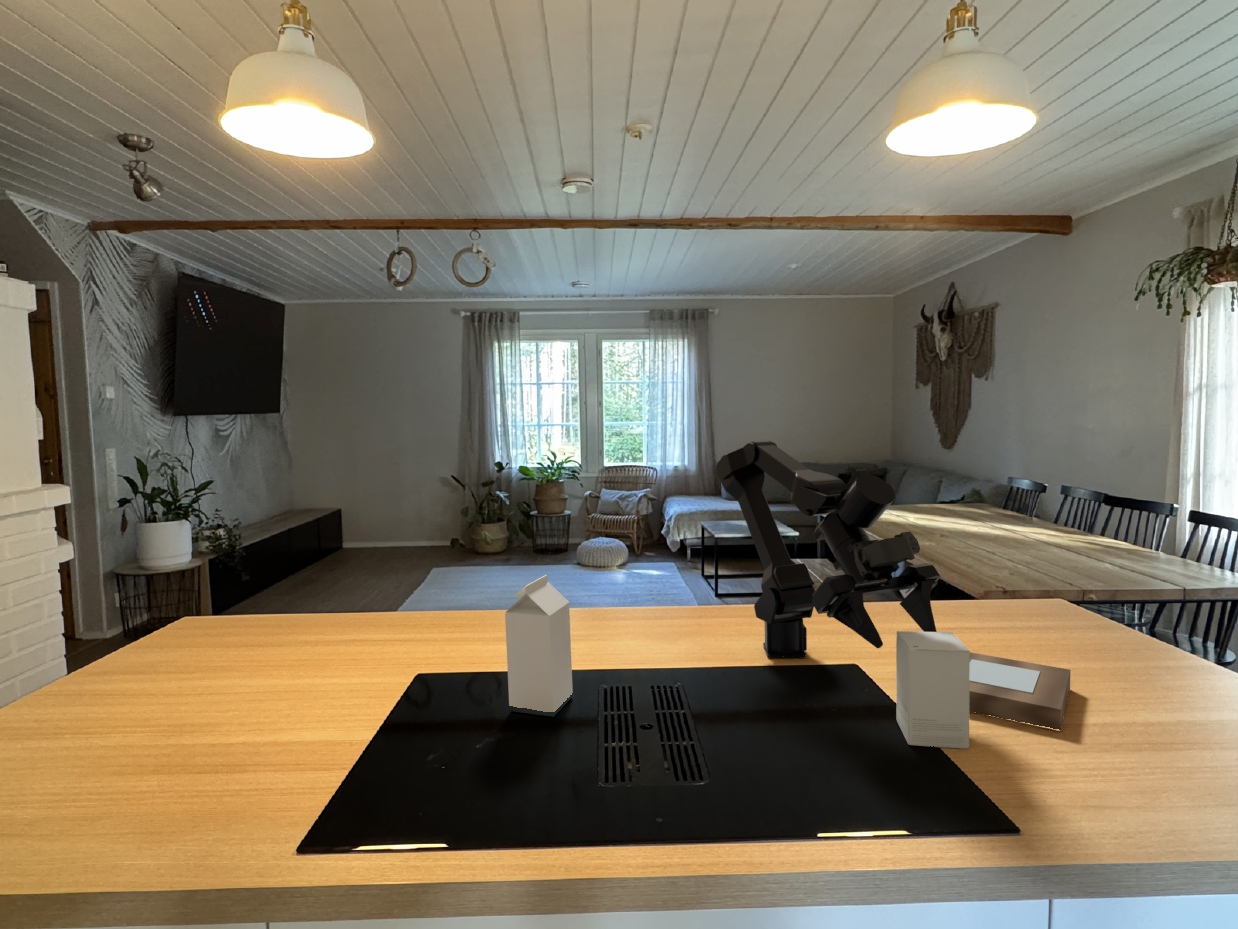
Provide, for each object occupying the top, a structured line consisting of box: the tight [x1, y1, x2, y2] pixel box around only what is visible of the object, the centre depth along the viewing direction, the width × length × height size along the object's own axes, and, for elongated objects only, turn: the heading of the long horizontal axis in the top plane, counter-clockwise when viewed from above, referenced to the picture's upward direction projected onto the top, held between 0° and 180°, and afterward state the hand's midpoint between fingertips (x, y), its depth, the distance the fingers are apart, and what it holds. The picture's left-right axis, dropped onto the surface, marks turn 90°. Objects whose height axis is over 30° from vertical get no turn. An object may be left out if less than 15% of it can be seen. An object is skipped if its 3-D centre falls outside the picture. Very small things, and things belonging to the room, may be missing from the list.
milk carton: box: [504, 574, 574, 712], centre depth 99 cm, size 7×7×19 cm
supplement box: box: [895, 630, 971, 750], centre depth 87 cm, size 7×7×13 cm
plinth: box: [969, 651, 1071, 731], centre depth 98 cm, size 16×16×3 cm
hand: (907, 641), depth 90 cm, fingers open, 9 cm apart
